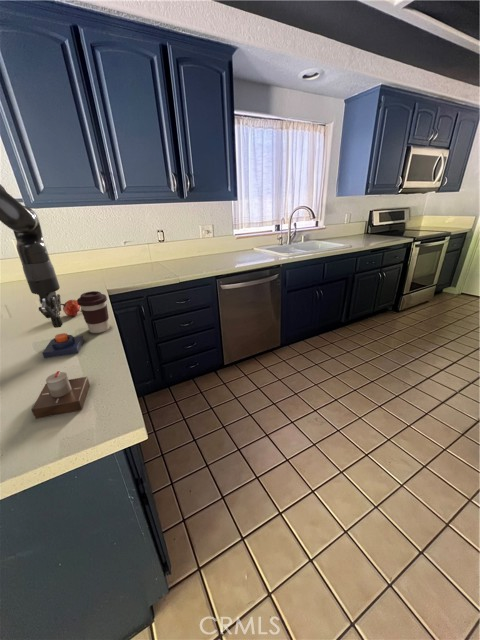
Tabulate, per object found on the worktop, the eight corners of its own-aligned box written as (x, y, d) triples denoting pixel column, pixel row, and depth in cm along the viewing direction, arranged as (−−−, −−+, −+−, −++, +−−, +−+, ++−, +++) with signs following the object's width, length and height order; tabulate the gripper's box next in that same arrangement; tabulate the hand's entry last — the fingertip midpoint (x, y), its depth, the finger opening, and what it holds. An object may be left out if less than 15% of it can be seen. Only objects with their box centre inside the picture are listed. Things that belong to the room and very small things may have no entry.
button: (54, 343, 88) (53, 338, 88) (58, 338, 91) (56, 334, 91) (66, 341, 89) (65, 337, 89) (69, 337, 92) (68, 332, 92)
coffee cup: (86, 337, 99) (76, 300, 93) (84, 327, 107) (74, 292, 101) (115, 331, 104) (106, 295, 98) (111, 322, 112) (103, 288, 105)
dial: (69, 395, 66) (64, 379, 64) (49, 399, 65) (42, 383, 63) (73, 384, 70) (68, 369, 68) (53, 388, 69) (48, 372, 67)
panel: (35, 419, 63) (31, 409, 62) (49, 392, 72) (45, 382, 70) (82, 409, 66) (78, 400, 64) (89, 385, 74) (87, 376, 73)
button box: (44, 358, 87) (40, 348, 85) (53, 345, 94) (49, 335, 93) (78, 353, 89) (75, 343, 88) (84, 340, 97) (81, 331, 95)
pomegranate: (80, 315, 124) (56, 306, 117) (88, 302, 123) (64, 293, 116) (81, 322, 118) (56, 314, 112) (89, 309, 117) (64, 300, 111)
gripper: (35, 271, 86) (51, 320, 93) (17, 283, 74) (38, 337, 82) (61, 269, 88) (75, 317, 95) (48, 281, 76) (65, 333, 83)
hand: (58, 326), depth 88 cm, fingers closed
